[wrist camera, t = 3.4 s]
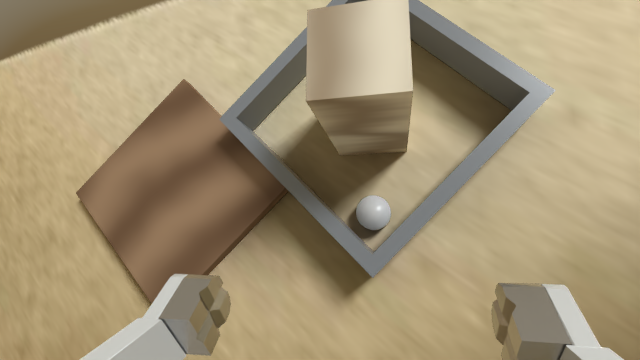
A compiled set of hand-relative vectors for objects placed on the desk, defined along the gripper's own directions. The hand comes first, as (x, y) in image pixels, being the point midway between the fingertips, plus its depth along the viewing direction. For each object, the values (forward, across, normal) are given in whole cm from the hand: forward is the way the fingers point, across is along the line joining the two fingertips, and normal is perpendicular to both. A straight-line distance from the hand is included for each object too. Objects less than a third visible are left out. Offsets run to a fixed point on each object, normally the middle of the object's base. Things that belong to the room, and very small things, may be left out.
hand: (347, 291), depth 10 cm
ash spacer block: (+18, 0, +2) cm, 18 cm away
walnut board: (+14, +16, +6) cm, 22 cm away
